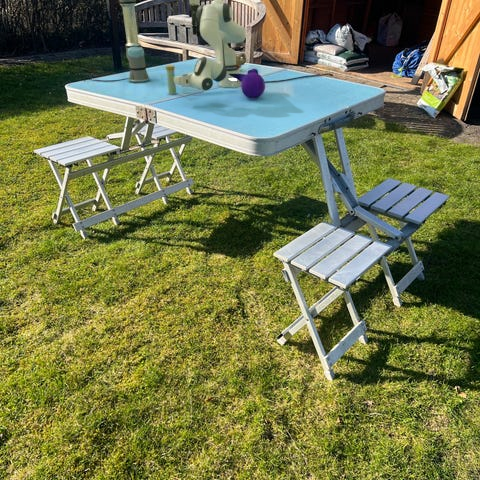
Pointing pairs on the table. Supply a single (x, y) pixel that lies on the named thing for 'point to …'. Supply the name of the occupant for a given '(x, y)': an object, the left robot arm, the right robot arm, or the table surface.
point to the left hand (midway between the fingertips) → (196, 35)
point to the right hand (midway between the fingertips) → (184, 76)
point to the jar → (171, 82)
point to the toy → (251, 83)
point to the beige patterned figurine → (239, 59)
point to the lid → (170, 67)
